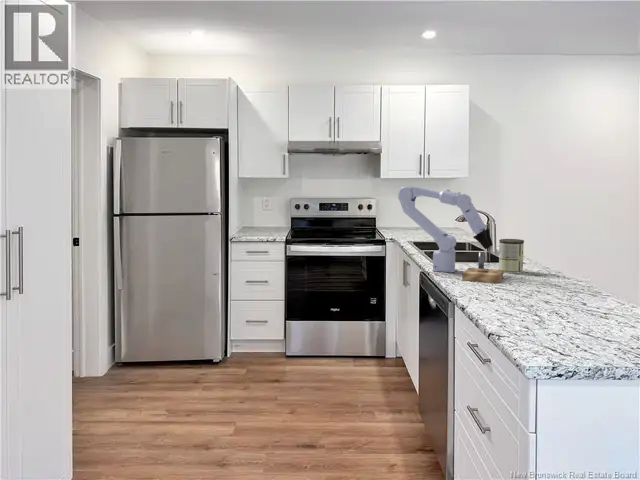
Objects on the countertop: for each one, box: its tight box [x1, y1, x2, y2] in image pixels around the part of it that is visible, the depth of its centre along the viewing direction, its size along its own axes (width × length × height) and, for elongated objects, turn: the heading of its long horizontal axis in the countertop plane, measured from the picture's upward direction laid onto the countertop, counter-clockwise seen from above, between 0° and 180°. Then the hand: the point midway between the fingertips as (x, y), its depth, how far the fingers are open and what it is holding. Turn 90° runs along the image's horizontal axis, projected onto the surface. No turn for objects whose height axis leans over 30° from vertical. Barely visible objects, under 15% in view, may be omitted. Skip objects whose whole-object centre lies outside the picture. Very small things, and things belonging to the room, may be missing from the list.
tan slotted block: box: [461, 267, 504, 284], centre depth 229 cm, size 14×14×3 cm
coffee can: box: [498, 238, 525, 275], centre depth 245 cm, size 10×10×14 cm
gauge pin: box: [477, 252, 485, 269], centre depth 241 cm, size 2×2×9 cm
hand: (489, 247), depth 239 cm, fingers open, 7 cm apart
